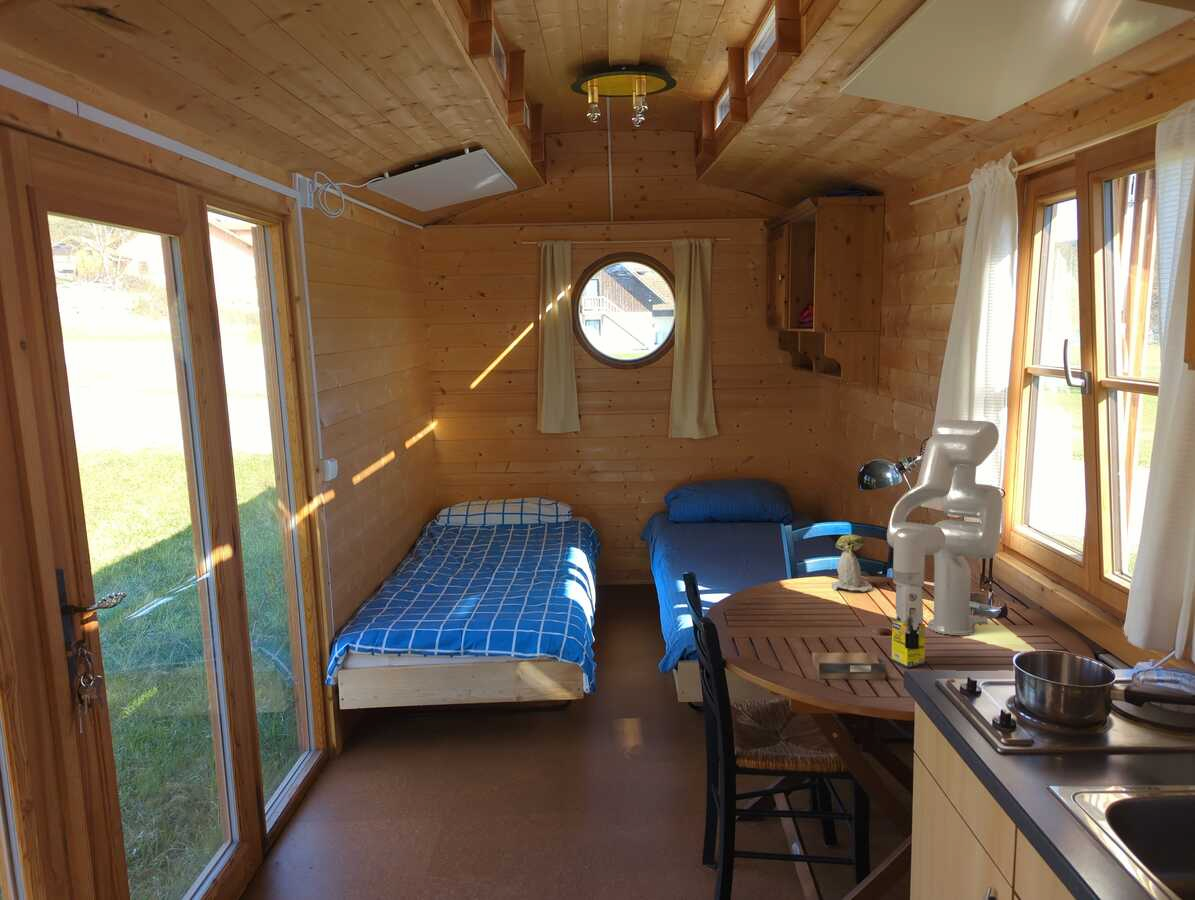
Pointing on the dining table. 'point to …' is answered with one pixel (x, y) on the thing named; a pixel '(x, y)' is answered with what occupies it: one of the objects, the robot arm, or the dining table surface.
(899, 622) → the supplement box
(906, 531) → the robot arm
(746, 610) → the dining table surface
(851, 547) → the clay mushroom sculpture
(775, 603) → the dining table surface
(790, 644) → the dining table surface
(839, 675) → the flat box
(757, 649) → the dining table surface
